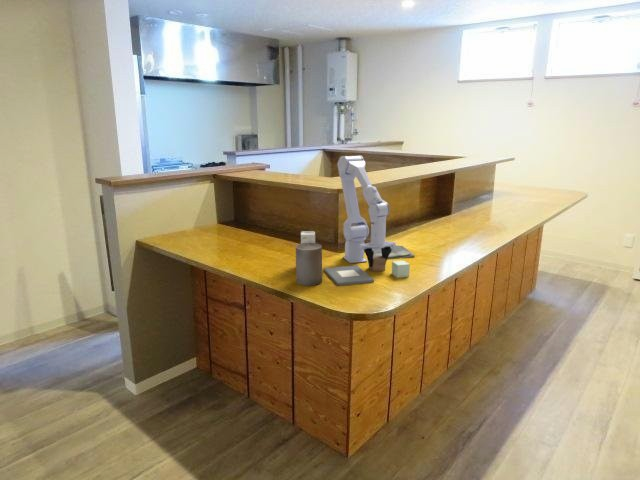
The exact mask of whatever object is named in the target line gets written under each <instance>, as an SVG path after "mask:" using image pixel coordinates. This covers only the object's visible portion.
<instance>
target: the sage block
mask: <svg viewBox="0 0 640 480" xmlns="http://www.w3.org/2000/svg"><path fill="white" fill-rule="evenodd" d="M410 266H411V264H410V263H408V262H407V261H405V260H397V261H396V260H394V261H393V260H392V262H391V274H392V275H393V276H394V277H396V278H397V279H398V278H406V277H407V278H408V277H410V271H411V270H410V269H411V267H410Z"/></svg>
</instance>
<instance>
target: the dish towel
mask: <svg viewBox="0 0 640 480" xmlns="http://www.w3.org/2000/svg"><path fill="white" fill-rule="evenodd" d="M390 248H391V249H392V251H391V253H390V254H389V256H388V258H387V260H398V259H399V260H400V258H401V259H411V258H415V256H416V255H415V254H414V253H413V252H412V251H410V250H409V249H408V248H406V247H405V246H404V245H400V244H396V245H395V248H393V247H390ZM372 251H373V252H374V254H373V256H375V255H381V256H382V251H381V248H377V249H372Z"/></svg>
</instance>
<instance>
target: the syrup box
mask: <svg viewBox="0 0 640 480" xmlns="http://www.w3.org/2000/svg"><path fill="white" fill-rule="evenodd" d="M302 243H316V232H315V231H313V230H311V231H309V230H308V231H307V230H306V231H300V244H302Z"/></svg>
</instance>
